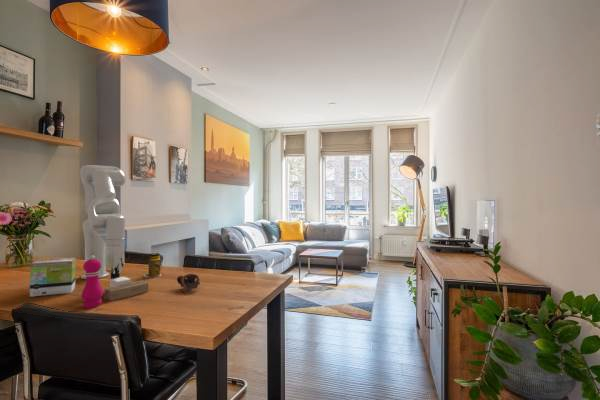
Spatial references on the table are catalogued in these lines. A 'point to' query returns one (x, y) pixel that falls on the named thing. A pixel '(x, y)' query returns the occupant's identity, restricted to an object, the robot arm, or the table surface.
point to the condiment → (154, 265)
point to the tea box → (52, 276)
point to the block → (119, 281)
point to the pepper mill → (92, 284)
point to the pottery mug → (188, 281)
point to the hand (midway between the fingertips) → (115, 281)
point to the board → (125, 290)
